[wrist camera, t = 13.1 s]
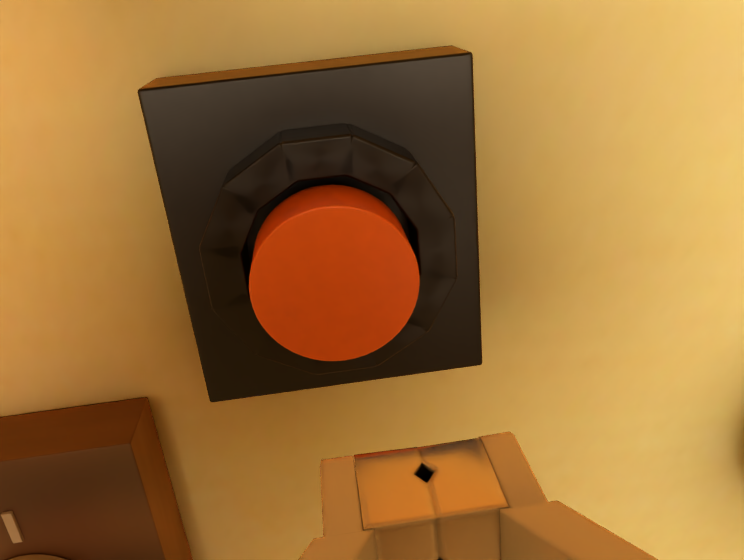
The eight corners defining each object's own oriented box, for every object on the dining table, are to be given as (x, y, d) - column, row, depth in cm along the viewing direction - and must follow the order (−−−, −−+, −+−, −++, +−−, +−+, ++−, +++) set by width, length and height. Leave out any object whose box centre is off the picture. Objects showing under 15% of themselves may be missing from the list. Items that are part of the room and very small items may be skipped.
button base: (465, 331, 27) (496, 392, 23) (218, 365, 26) (203, 434, 22) (453, 45, 22) (489, 56, 18) (154, 78, 22) (121, 98, 18)
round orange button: (413, 317, 22) (425, 350, 20) (266, 337, 21) (263, 372, 19) (402, 174, 20) (413, 195, 18) (240, 194, 19) (234, 217, 17)
